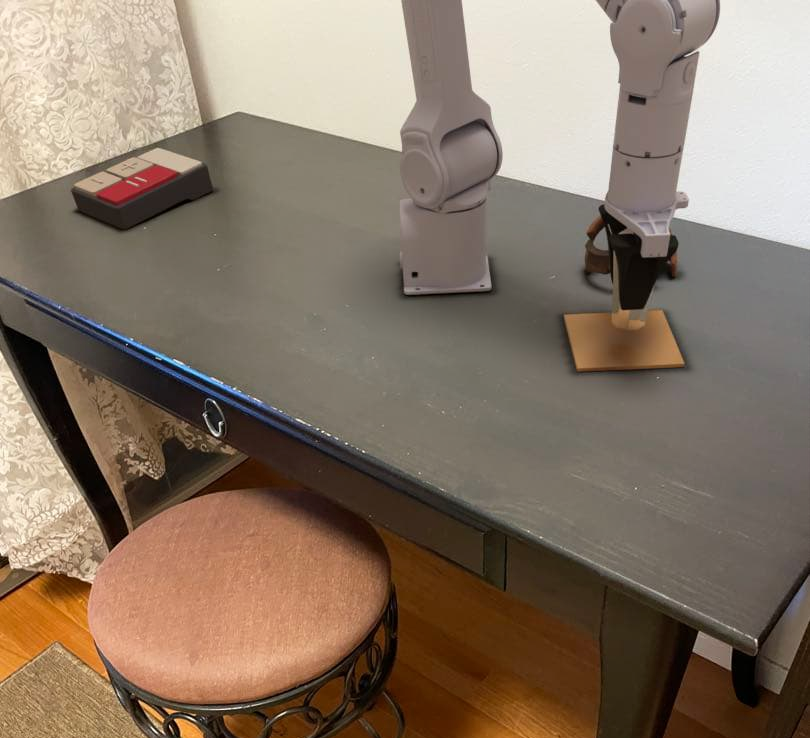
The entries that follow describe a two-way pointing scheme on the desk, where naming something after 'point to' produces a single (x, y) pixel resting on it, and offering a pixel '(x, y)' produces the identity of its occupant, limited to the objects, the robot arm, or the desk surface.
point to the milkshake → (619, 316)
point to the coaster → (621, 343)
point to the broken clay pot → (607, 252)
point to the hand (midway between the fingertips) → (627, 295)
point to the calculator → (141, 187)
